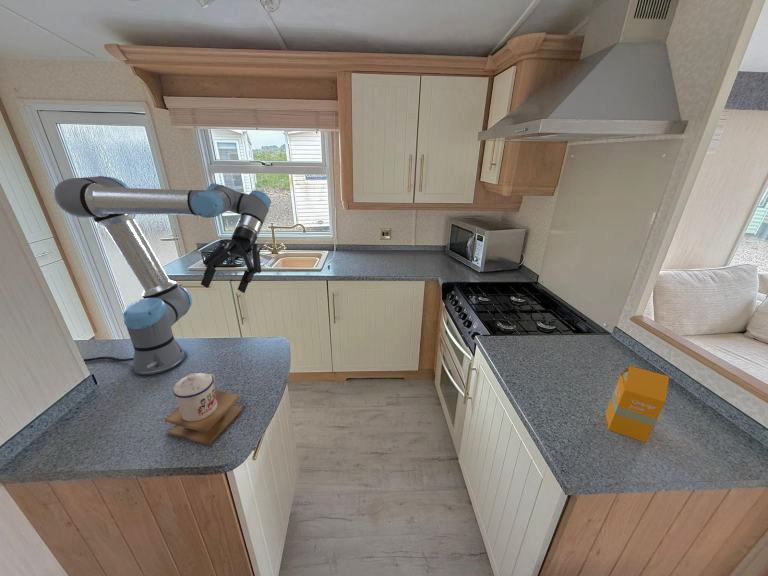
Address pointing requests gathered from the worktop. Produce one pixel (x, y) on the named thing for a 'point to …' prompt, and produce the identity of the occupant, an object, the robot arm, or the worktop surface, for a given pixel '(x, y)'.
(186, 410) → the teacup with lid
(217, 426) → the cup stand
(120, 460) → the worktop surface
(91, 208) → the robot arm
